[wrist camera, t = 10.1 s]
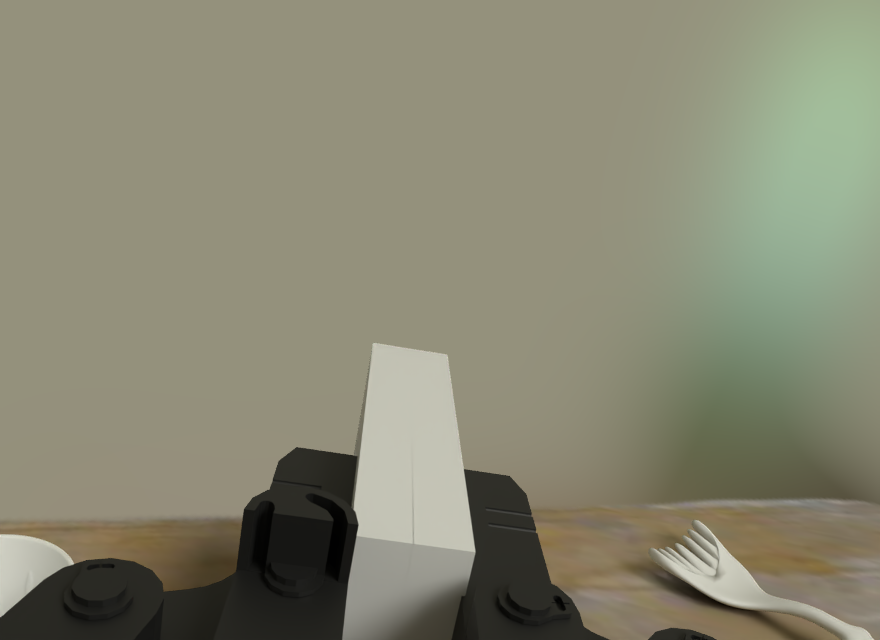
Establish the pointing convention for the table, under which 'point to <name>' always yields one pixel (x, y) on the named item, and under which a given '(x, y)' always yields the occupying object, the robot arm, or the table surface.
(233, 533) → the table surface
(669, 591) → the table surface
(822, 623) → the white plastic spork
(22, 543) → the white cup
